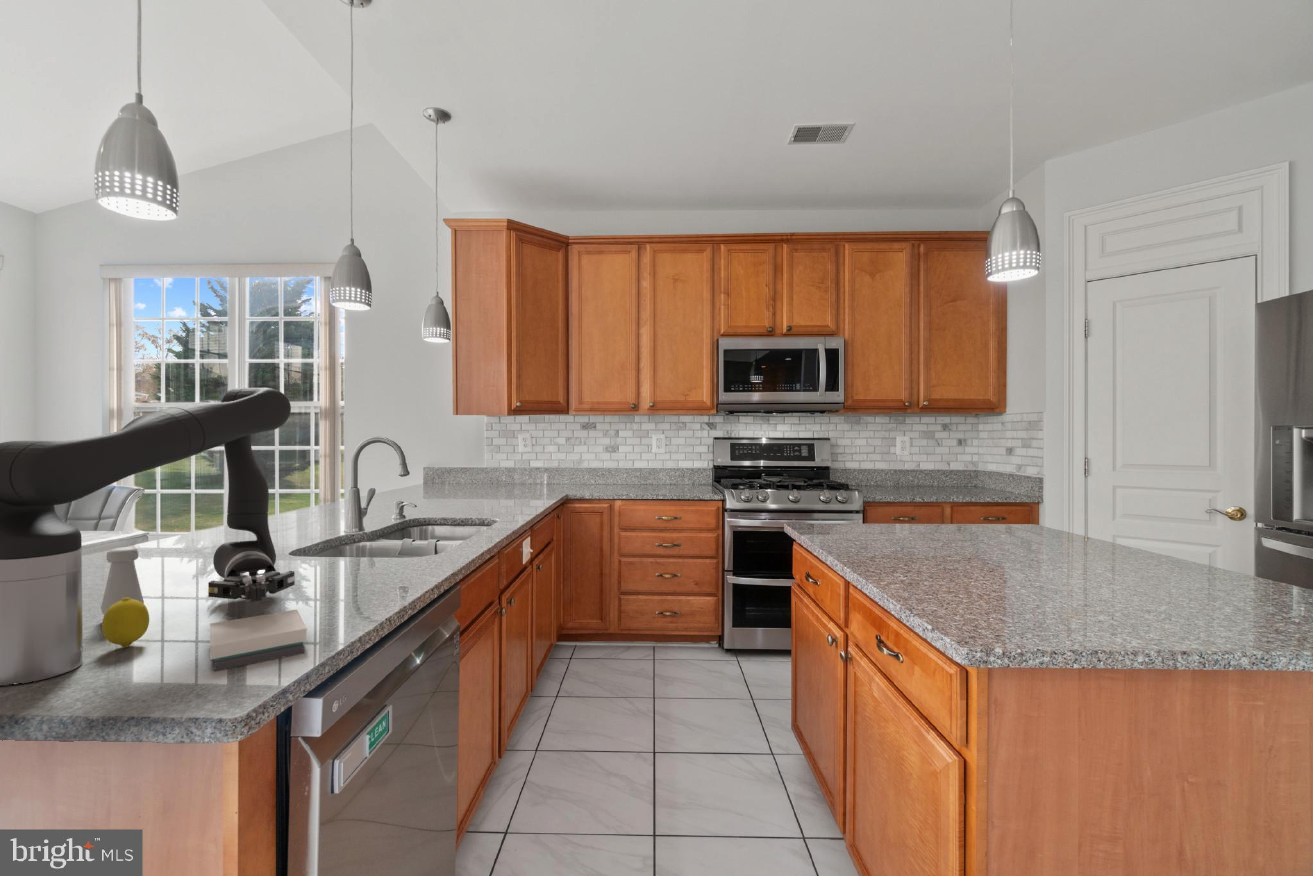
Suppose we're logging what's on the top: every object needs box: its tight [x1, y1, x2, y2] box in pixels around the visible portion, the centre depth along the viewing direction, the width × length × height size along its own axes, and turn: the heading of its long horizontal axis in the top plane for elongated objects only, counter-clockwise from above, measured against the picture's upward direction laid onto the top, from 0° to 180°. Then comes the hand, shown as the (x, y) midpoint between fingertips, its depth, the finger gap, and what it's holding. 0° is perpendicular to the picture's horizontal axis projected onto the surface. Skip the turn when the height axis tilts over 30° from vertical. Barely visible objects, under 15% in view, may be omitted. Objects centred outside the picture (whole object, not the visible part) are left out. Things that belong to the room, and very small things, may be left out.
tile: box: [209, 609, 308, 662], centre depth 91 cm, size 12×2×12 cm
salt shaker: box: [100, 546, 145, 616], centre depth 104 cm, size 6×6×13 cm
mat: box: [214, 643, 305, 672], centre depth 90 cm, size 11×11×1 cm
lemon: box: [101, 597, 150, 648], centre depth 91 cm, size 6×6×8 cm
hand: (256, 595), depth 92 cm, fingers closed
